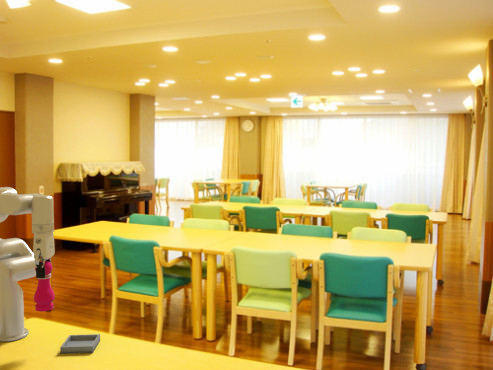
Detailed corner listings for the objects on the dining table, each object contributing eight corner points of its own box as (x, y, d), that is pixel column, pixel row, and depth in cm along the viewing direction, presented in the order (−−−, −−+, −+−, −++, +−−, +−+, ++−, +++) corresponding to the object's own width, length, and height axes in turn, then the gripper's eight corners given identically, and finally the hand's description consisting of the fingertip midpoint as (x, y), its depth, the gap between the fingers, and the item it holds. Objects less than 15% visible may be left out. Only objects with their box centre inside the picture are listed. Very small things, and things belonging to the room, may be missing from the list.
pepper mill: (46, 304, 185) (45, 254, 183) (58, 308, 181) (58, 256, 179) (29, 309, 178) (28, 257, 177) (42, 313, 175) (41, 260, 173)
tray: (60, 353, 175) (60, 347, 175) (69, 341, 187) (69, 335, 187) (93, 352, 176) (92, 346, 176) (100, 340, 188) (100, 334, 188)
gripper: (45, 232, 169) (46, 281, 170) (60, 224, 186) (61, 269, 188) (23, 232, 169) (24, 281, 170) (40, 224, 186) (41, 269, 187)
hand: (43, 275), depth 179 cm, fingers closed on pepper mill, 6 cm apart
